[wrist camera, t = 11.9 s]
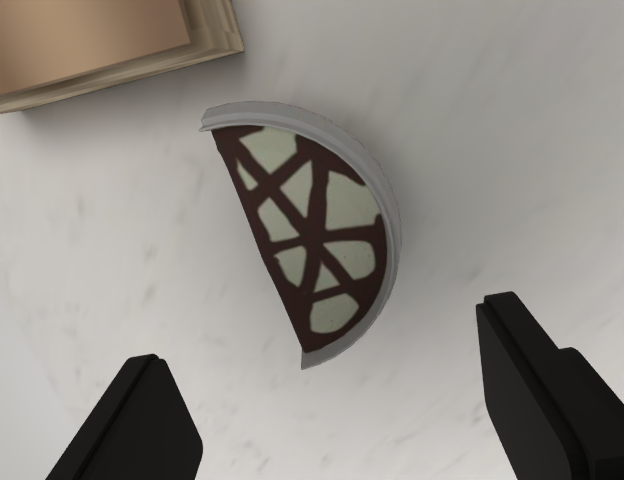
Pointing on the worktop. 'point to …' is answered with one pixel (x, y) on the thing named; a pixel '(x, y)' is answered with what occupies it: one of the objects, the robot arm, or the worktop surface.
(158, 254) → the worktop surface
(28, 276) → the worktop surface
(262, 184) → the food container
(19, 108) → the crate
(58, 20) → the lid
